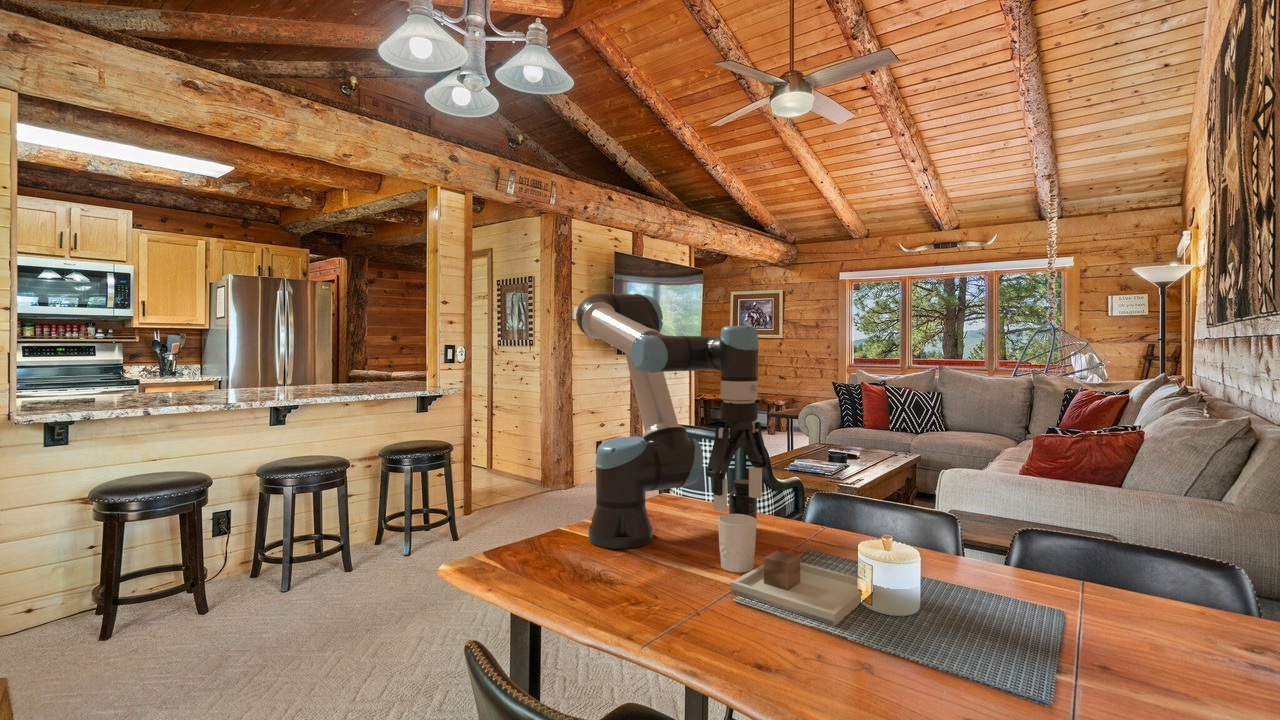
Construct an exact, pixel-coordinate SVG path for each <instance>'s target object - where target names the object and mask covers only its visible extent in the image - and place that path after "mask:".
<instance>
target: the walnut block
mask: <svg viewBox="0 0 1280 720" xmlns="http://www.w3.org/2000/svg"><path fill="white" fill-rule="evenodd" d="M801 560H802V559H801V556H798V555H794V554H791V553H787V552H783V551H780V550H775V551H774V552H772V553H770V554H768V555H766V556H764V557H763V564H764V584H767V585H770V586H774V587H777V588H780V589H784V590H787V591H788V590H790V589H791V588H793V587H794V586H796V585H797V584H799V583H800V562H801ZM801 563H802V562H801Z"/></svg>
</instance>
